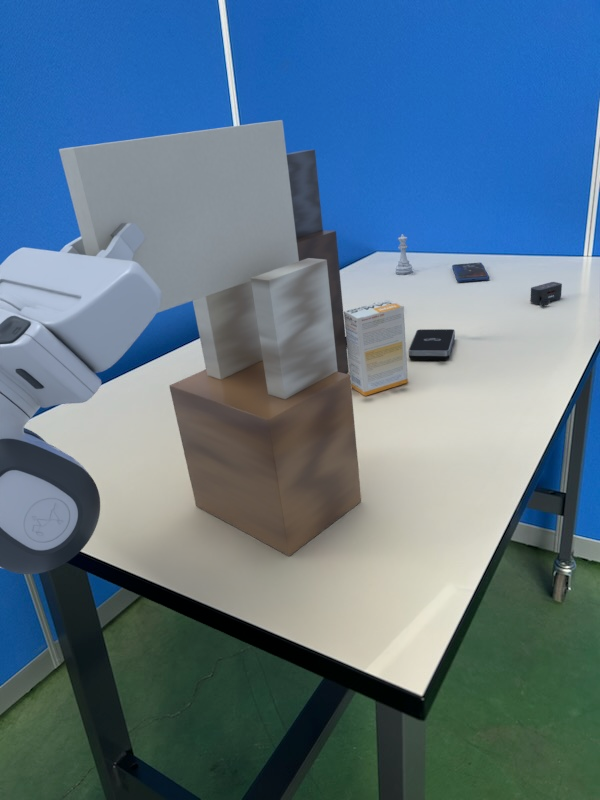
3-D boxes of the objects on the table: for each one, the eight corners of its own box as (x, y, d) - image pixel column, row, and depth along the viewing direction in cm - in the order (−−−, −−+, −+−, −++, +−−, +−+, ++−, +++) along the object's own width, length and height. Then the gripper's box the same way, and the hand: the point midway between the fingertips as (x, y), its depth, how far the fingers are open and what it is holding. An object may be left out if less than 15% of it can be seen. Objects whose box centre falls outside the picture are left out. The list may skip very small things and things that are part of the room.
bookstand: (301, 398, 100) (270, 159, 85) (236, 378, 110) (199, 163, 95) (348, 372, 107) (328, 148, 92) (283, 356, 118) (256, 153, 103)
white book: (118, 326, 52) (73, 147, 46) (103, 322, 54) (58, 149, 48) (299, 264, 66) (282, 119, 60) (283, 262, 67) (265, 122, 62)
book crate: (289, 556, 64) (248, 294, 53) (195, 506, 75) (144, 278, 63) (361, 501, 72) (340, 260, 60) (267, 462, 82) (233, 251, 71)
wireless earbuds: (525, 304, 129) (526, 288, 128) (552, 296, 131) (553, 281, 130) (542, 308, 125) (543, 293, 124) (569, 301, 127) (570, 285, 126)
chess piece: (414, 270, 165) (412, 232, 160) (410, 274, 161) (409, 235, 157) (397, 270, 166) (395, 232, 162) (394, 275, 163) (391, 236, 158)
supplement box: (393, 374, 104) (388, 298, 98) (408, 383, 100) (405, 305, 94) (349, 387, 101) (342, 310, 96) (363, 397, 97) (357, 317, 92)
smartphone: (457, 279, 148) (451, 264, 162) (457, 282, 149) (451, 267, 162) (490, 276, 147) (481, 262, 160) (490, 280, 147) (481, 265, 161)
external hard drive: (455, 339, 115) (455, 329, 114) (449, 362, 106) (448, 351, 105) (417, 339, 118) (417, 329, 117) (408, 361, 108) (407, 351, 107)
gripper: (-13, 356, 56) (87, 249, 61) (101, 406, 43) (219, 265, 47) (-72, 307, 52) (40, 197, 56) (34, 346, 38) (171, 197, 43)
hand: (123, 228), depth 52 cm, fingers closed on white book, 2 cm apart
